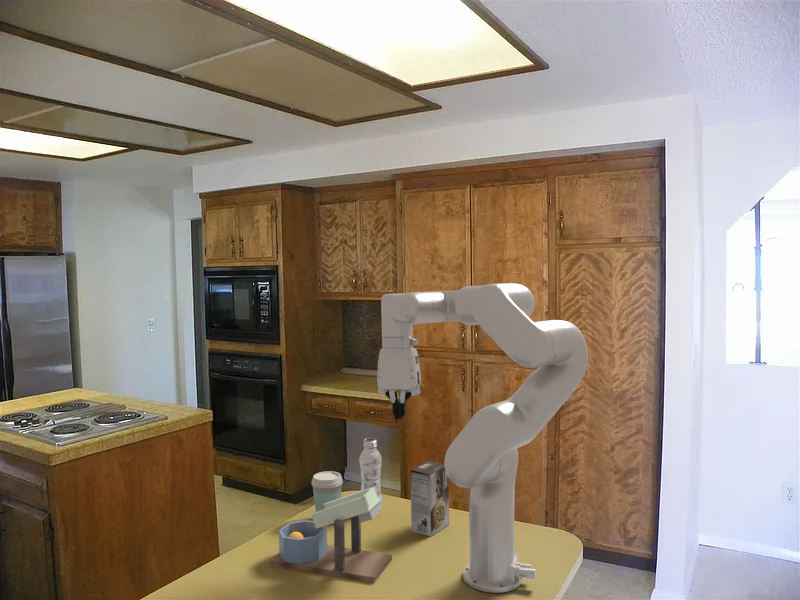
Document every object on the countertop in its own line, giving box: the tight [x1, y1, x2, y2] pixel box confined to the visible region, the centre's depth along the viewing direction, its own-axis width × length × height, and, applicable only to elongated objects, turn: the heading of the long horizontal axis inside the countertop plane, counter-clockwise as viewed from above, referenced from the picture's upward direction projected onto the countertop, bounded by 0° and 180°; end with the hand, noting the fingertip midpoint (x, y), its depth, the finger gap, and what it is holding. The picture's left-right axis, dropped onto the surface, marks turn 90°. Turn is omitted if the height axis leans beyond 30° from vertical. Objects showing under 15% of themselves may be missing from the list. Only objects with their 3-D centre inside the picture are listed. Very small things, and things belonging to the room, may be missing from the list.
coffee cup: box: [310, 470, 344, 512], centre depth 159 cm, size 8×8×12 cm
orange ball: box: [288, 532, 304, 539], centre depth 138 cm, size 4×4×4 cm
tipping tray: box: [310, 486, 382, 529], centre depth 136 cm, size 14×13×5 cm
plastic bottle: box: [358, 437, 384, 510], centre depth 165 cm, size 6×7×20 cm
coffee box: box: [410, 460, 450, 537], centre depth 153 cm, size 9×6×16 cm
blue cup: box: [278, 519, 328, 564], centre depth 137 cm, size 10×10×6 cm
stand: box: [269, 515, 393, 584], centre depth 134 cm, size 26×11×12 cm, turn 71°
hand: (399, 418), depth 144 cm, fingers closed
